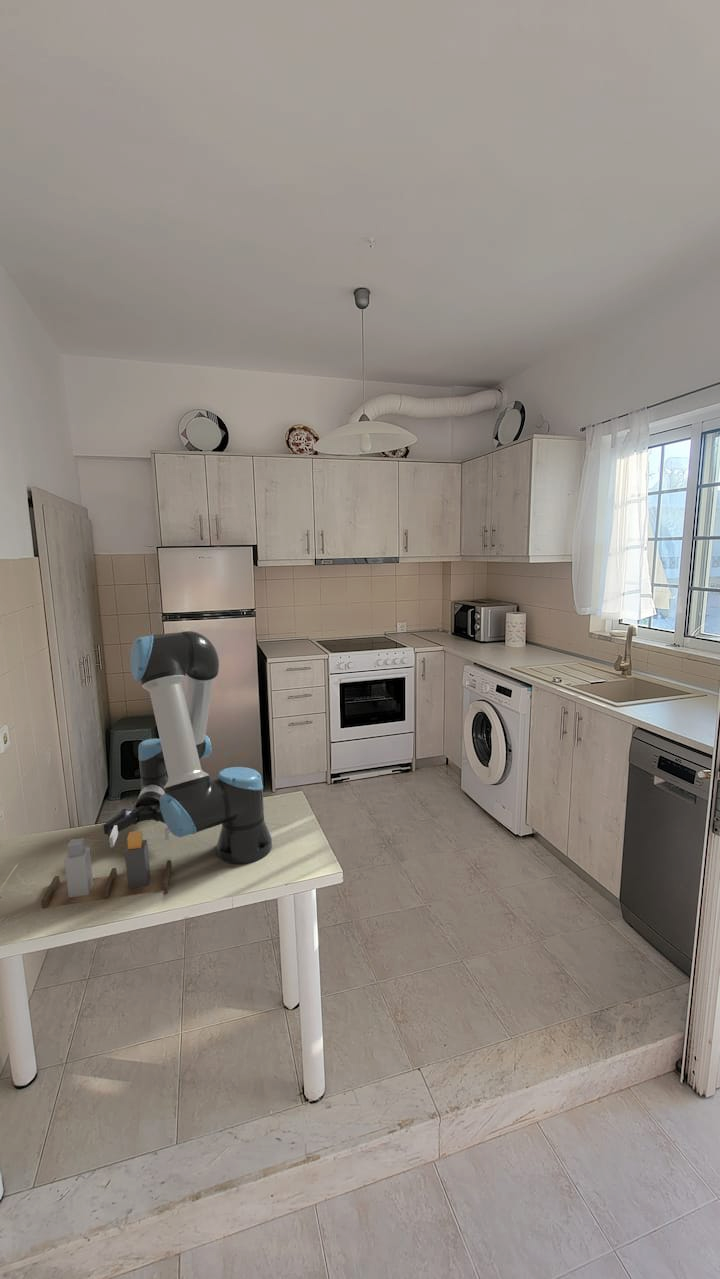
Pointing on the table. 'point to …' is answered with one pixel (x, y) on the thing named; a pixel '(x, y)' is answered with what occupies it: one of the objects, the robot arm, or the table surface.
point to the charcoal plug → (137, 860)
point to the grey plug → (78, 868)
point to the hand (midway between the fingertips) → (139, 838)
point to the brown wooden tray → (107, 887)
